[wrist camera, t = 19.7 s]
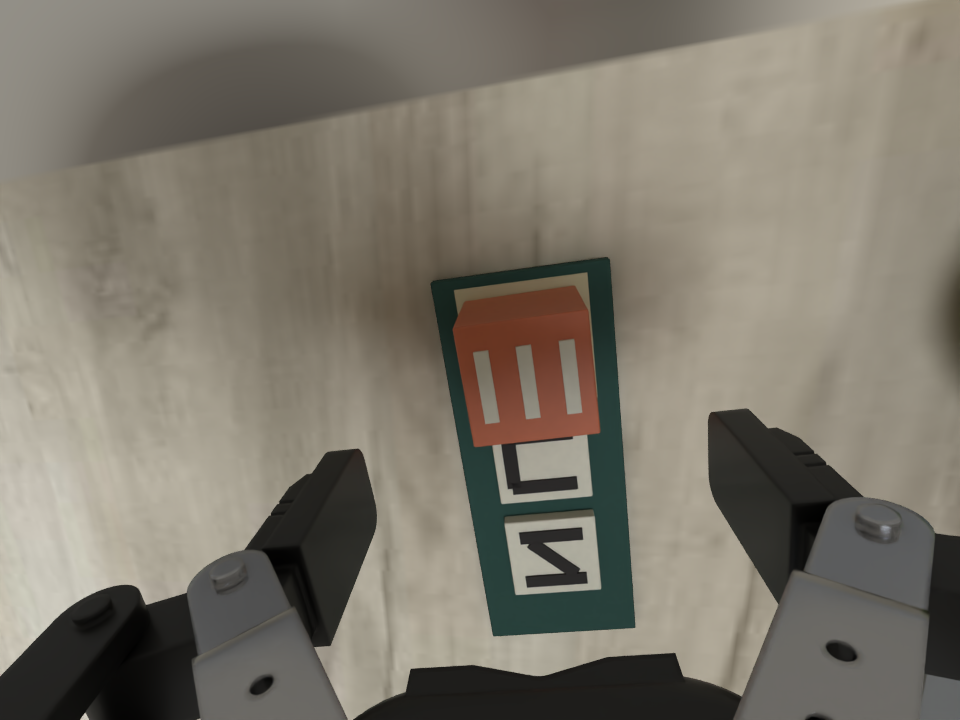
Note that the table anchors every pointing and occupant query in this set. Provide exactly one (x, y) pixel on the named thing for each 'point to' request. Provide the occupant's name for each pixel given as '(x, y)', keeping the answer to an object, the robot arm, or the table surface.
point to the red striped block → (527, 367)
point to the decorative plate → (940, 698)
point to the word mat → (548, 480)
